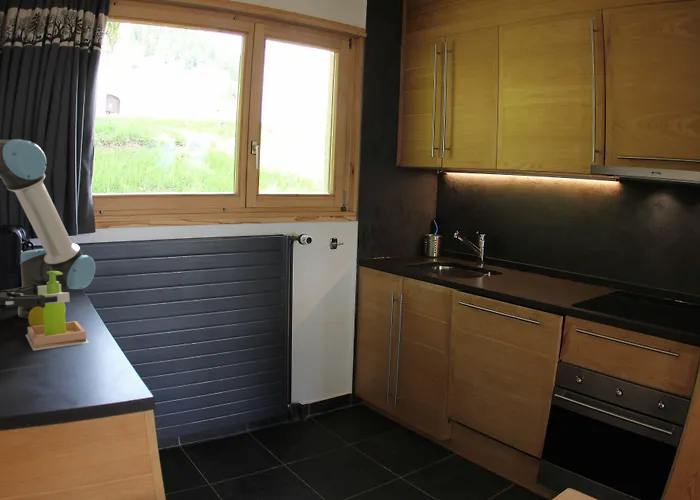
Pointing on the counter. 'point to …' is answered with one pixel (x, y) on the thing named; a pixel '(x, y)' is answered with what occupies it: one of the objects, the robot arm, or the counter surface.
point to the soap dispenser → (54, 308)
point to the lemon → (36, 316)
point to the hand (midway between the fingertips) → (65, 292)
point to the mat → (55, 345)
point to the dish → (71, 336)
